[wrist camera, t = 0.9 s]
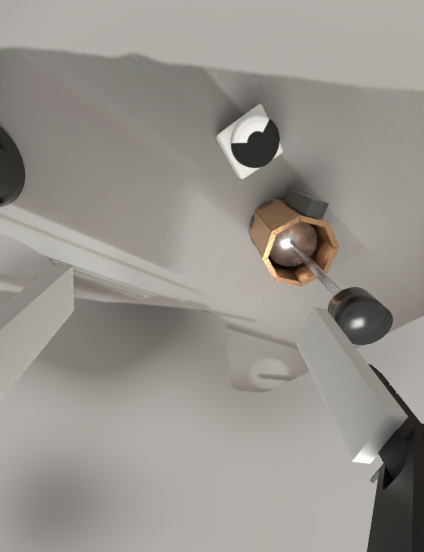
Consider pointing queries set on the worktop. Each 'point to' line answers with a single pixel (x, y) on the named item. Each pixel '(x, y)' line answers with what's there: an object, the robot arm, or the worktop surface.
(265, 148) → the medicine bottle
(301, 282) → the press carafe
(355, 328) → the plunger
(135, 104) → the worktop surface
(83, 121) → the worktop surface
